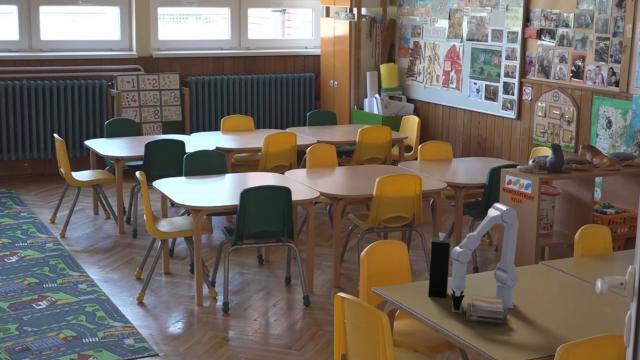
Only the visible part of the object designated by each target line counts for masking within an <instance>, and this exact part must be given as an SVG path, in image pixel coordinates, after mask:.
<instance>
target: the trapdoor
mask: <svg viewBox="0 0 640 360" xmlns="http://www.w3.org/2000/svg"><path fill="white" fill-rule="evenodd" d="M503 309H504V308H503V306H502V298H496V297H493V296H486V295H485V296H483V295H472V297H471V315H479V316H490V317H501V318H502V317H503Z"/></svg>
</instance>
